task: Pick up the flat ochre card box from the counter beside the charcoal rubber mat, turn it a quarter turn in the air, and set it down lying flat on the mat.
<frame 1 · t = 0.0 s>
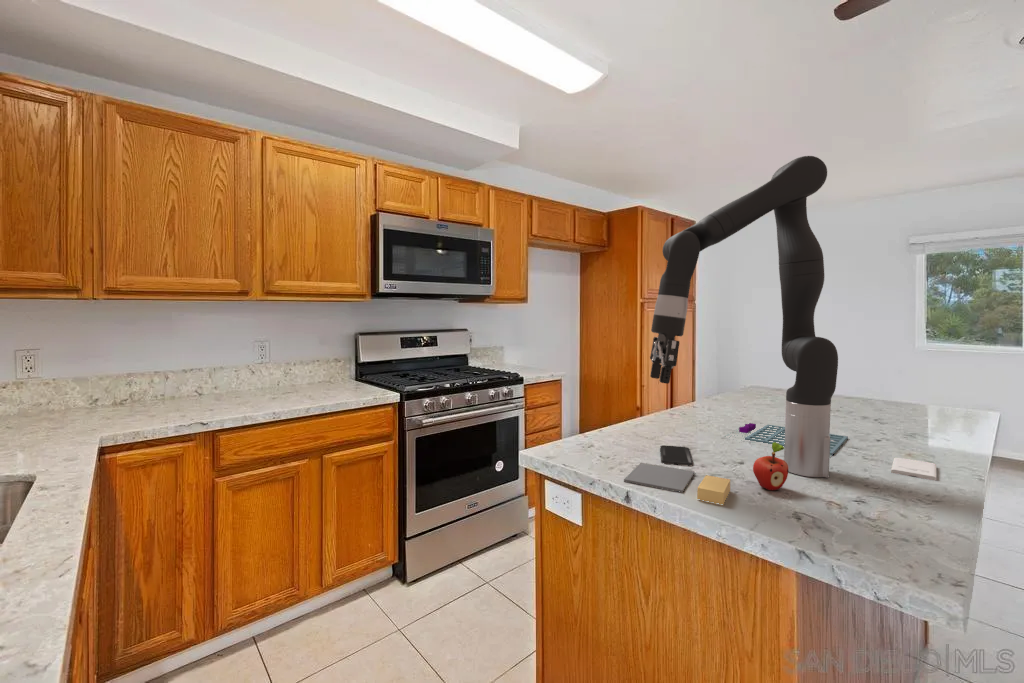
hand: (659, 380, 114), 22 cm above the counter, tool pointing down, fingers open, 8 cm apart
mat: (660, 477, 109), on the counter
external hard drive: (913, 473, 115), on the counter
card box: (714, 497, 99), on the counter
apple: (769, 489, 103), on the counter
phone: (675, 458, 126), on the counter
calendar: (783, 441, 144), on the counter
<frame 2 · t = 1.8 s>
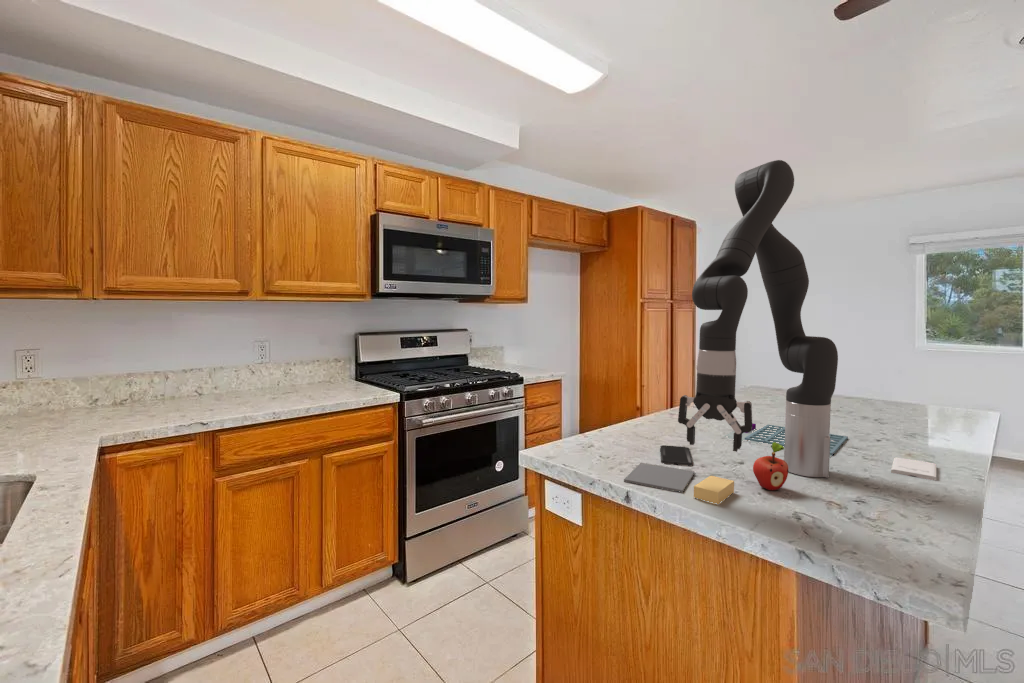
hand: (713, 447, 98), 10 cm above the counter, tool pointing down, fingers open, 8 cm apart
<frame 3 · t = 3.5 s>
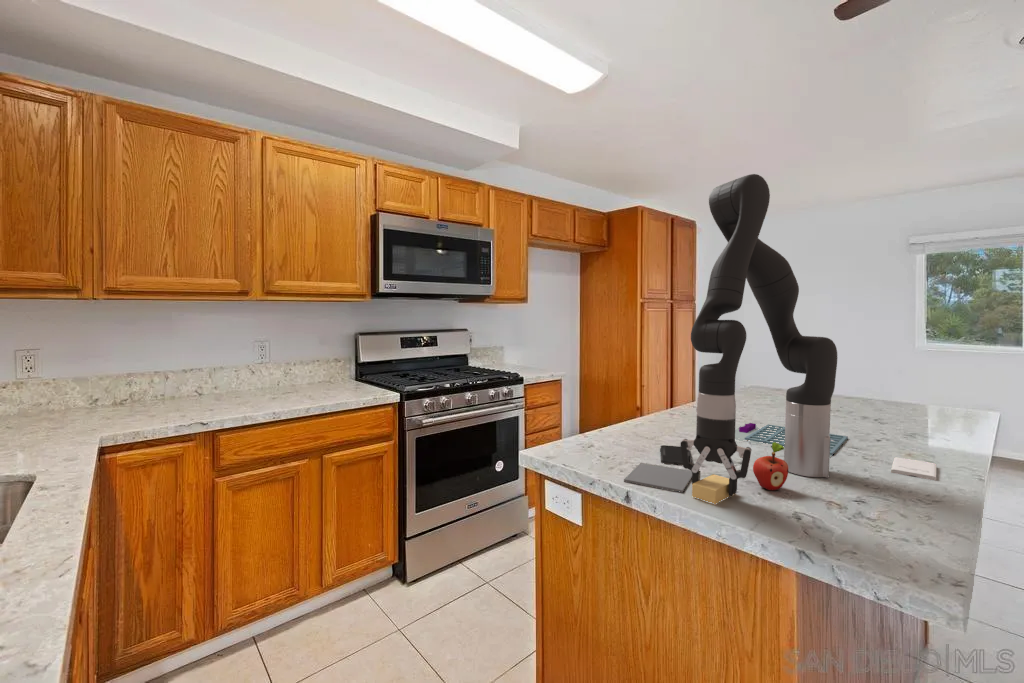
hand: (713, 491, 99), 1 cm above the counter, tool pointing down, fingers closed on card box, 6 cm apart
card box: (713, 495, 99), on the counter, touching gripper
everything else where it was.
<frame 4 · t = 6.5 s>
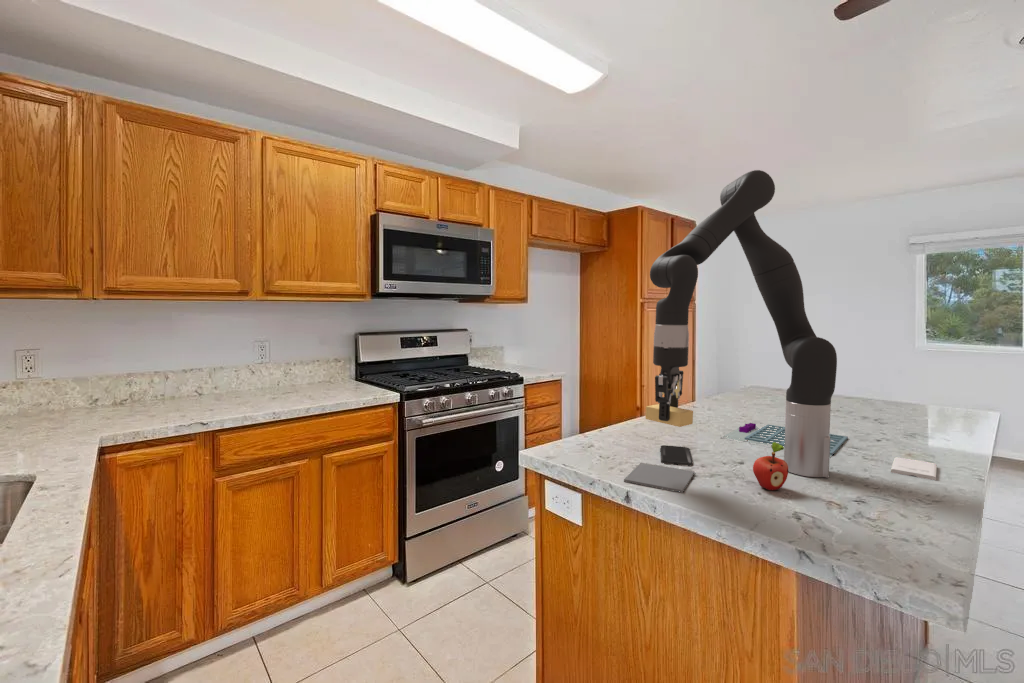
hand: (668, 417, 106), 15 cm above the counter, tool pointing down, fingers closed on card box, 6 cm apart
card box: (668, 421, 106), point 14 cm above the counter, touching gripper
everything else where it was.
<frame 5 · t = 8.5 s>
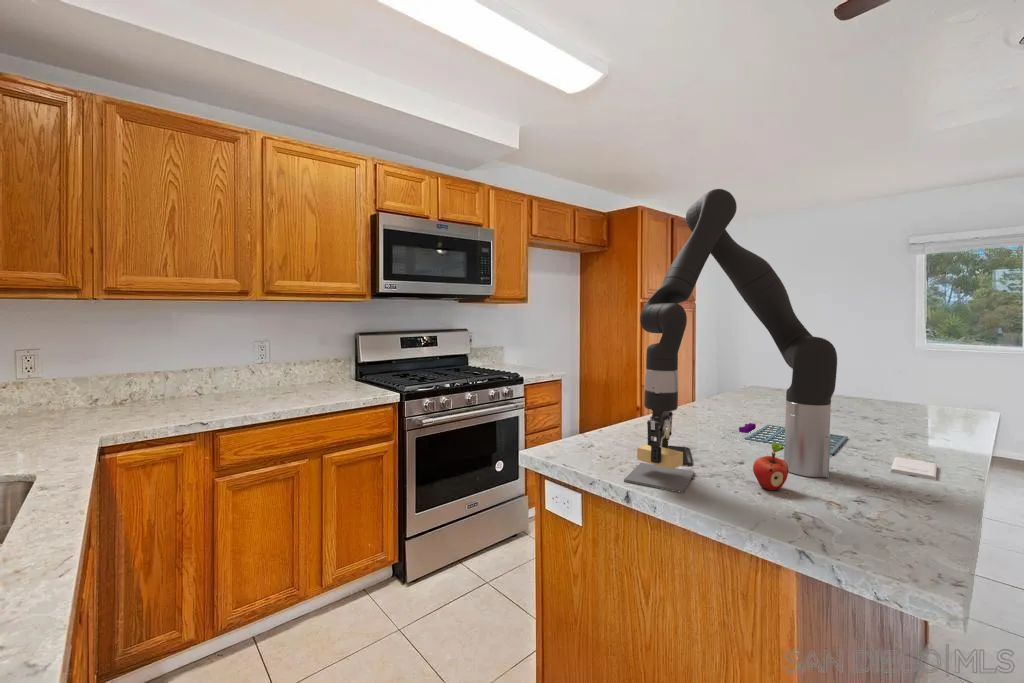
hand: (659, 458, 109), 5 cm above the counter, tool pointing down, fingers closed on card box, 6 cm apart
card box: (659, 462, 110), point 4 cm above the counter, touching gripper
everything else where it was.
when the fingers open (3 cm above the counter, at t = 9.8 s): card box drops 1 cm, resting on mat.
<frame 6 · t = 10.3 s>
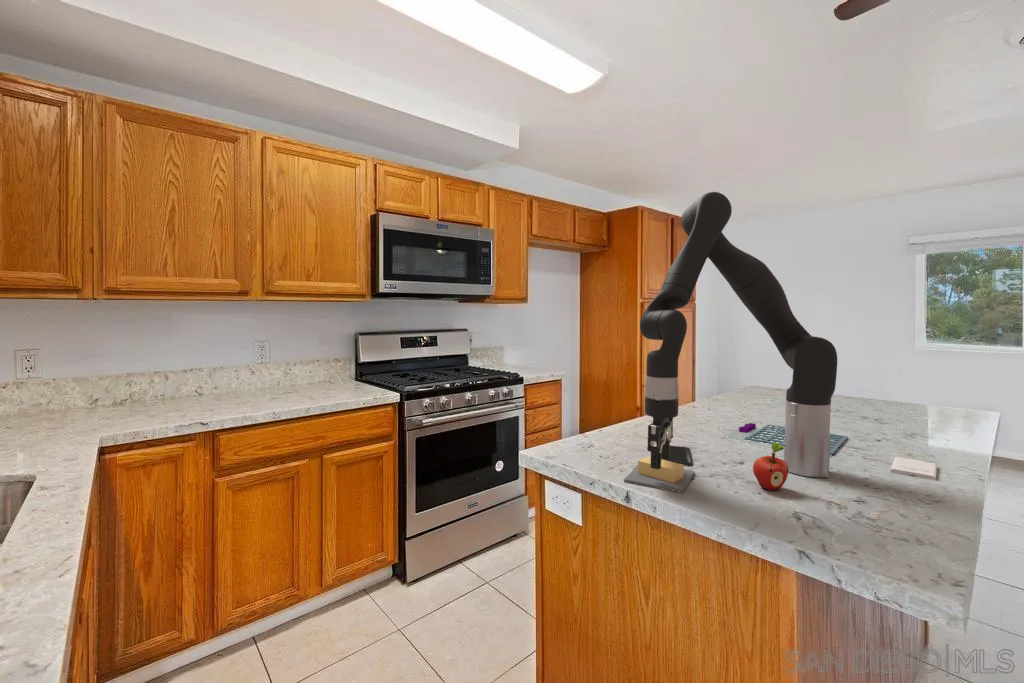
hand: (660, 463, 109), 4 cm above the counter, tool pointing down, fingers open, 8 cm apart
card box: (660, 475, 109), point 1 cm above the counter, touching mat
everything else where it was.
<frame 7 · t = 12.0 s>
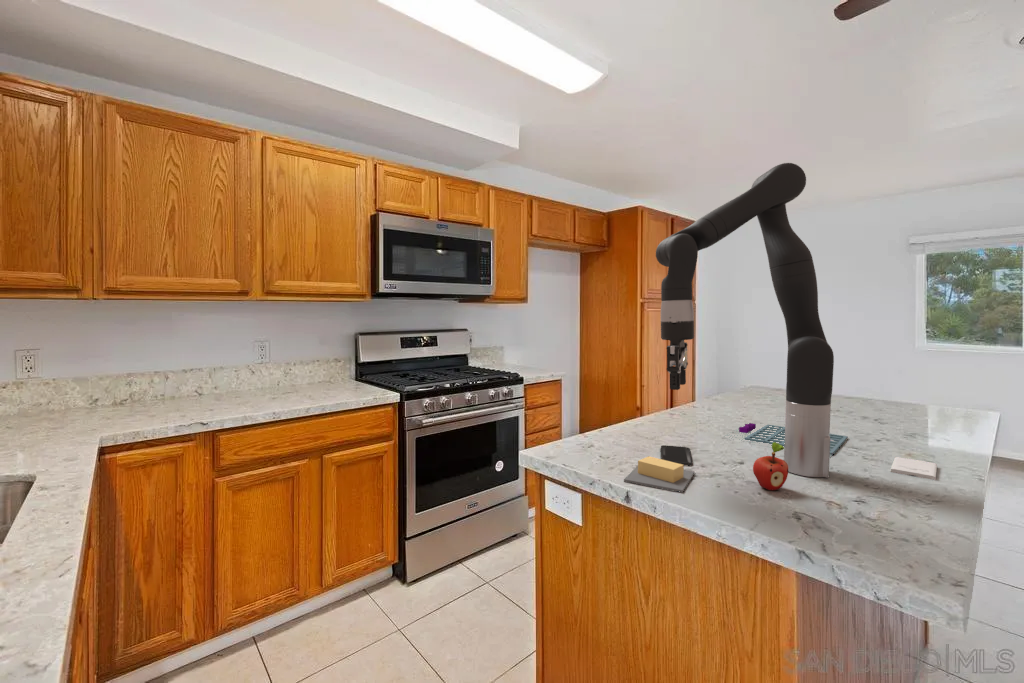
hand: (678, 386, 112), 21 cm above the counter, tool pointing down, fingers open, 8 cm apart
nothing on the counter moved.
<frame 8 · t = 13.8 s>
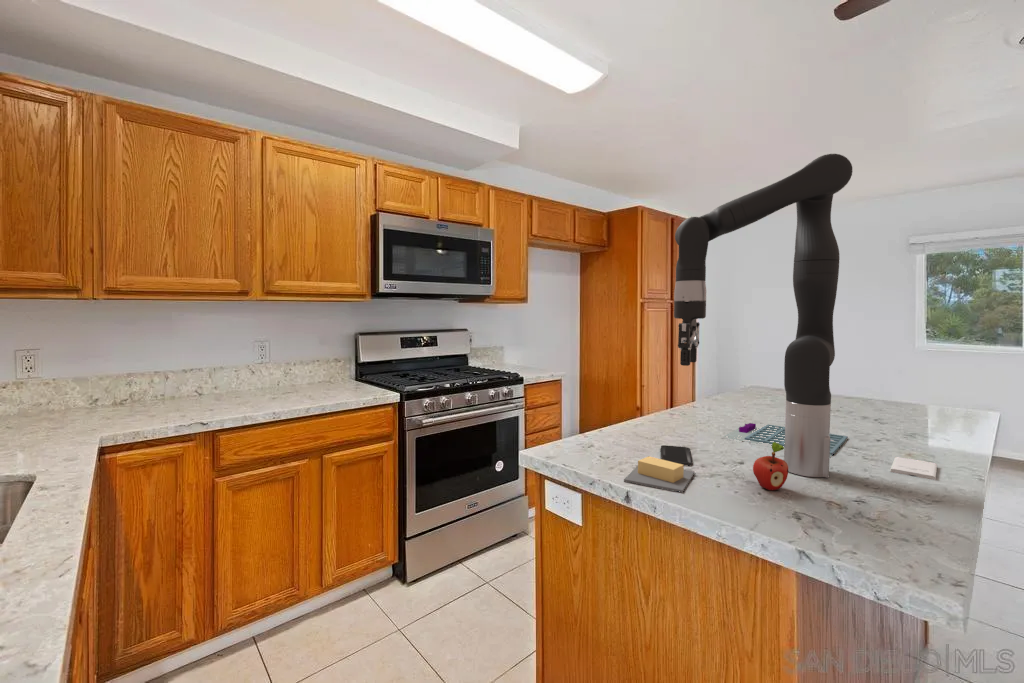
hand: (688, 363, 117), 26 cm above the counter, tool pointing down, fingers open, 8 cm apart
nothing on the counter moved.
at the end: card box inside the target area on the mat (0.1 cm from its centre), point 0.6 cm above the mat's base; card box tilted 0°; the gripper is holding nothing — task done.
